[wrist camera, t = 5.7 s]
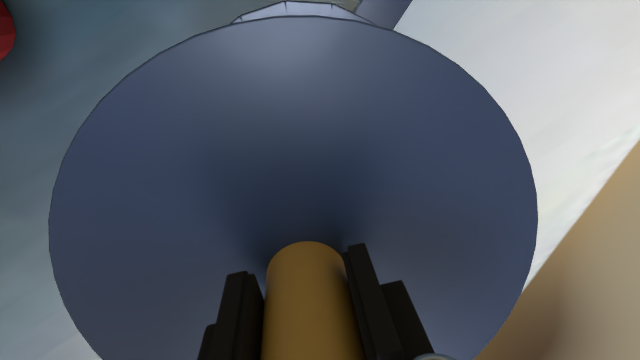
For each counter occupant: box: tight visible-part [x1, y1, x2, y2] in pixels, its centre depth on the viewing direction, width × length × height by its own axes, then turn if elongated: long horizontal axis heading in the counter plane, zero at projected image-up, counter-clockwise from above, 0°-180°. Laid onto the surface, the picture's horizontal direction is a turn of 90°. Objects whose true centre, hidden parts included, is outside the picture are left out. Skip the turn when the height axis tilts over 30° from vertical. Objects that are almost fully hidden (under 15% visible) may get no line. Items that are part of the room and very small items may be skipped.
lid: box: [48, 15, 538, 360], centre depth 10 cm, size 16×16×7 cm
